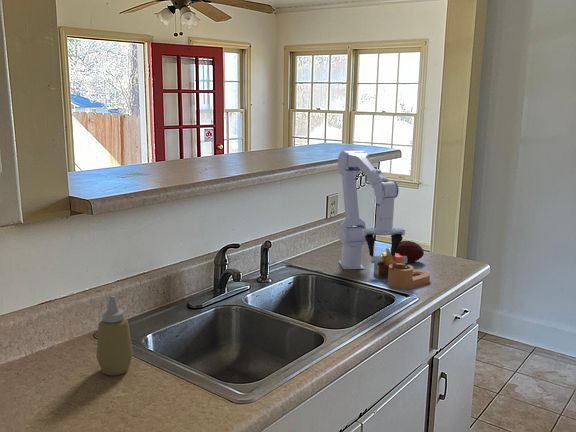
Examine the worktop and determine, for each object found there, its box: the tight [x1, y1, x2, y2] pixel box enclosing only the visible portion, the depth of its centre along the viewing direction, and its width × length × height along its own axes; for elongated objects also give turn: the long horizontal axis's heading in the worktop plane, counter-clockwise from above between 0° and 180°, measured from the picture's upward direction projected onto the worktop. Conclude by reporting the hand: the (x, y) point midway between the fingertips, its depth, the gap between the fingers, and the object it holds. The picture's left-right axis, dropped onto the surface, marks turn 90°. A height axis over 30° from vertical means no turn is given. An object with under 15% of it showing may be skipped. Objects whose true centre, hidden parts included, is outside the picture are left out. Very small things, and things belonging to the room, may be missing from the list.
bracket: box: [387, 263, 431, 290], centre depth 193 cm, size 18×8×7 cm, turn 129°
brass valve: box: [370, 251, 407, 279], centre depth 200 cm, size 6×13×8 cm, turn 97°
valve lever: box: [385, 247, 403, 264], centre depth 194 cm, size 12×2×2 cm, turn 7°
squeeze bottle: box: [96, 295, 134, 376], centre depth 125 cm, size 8×8×18 cm
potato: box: [396, 240, 425, 264], centre depth 218 cm, size 12×11×8 cm
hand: (382, 255), depth 189 cm, fingers open, 7 cm apart
